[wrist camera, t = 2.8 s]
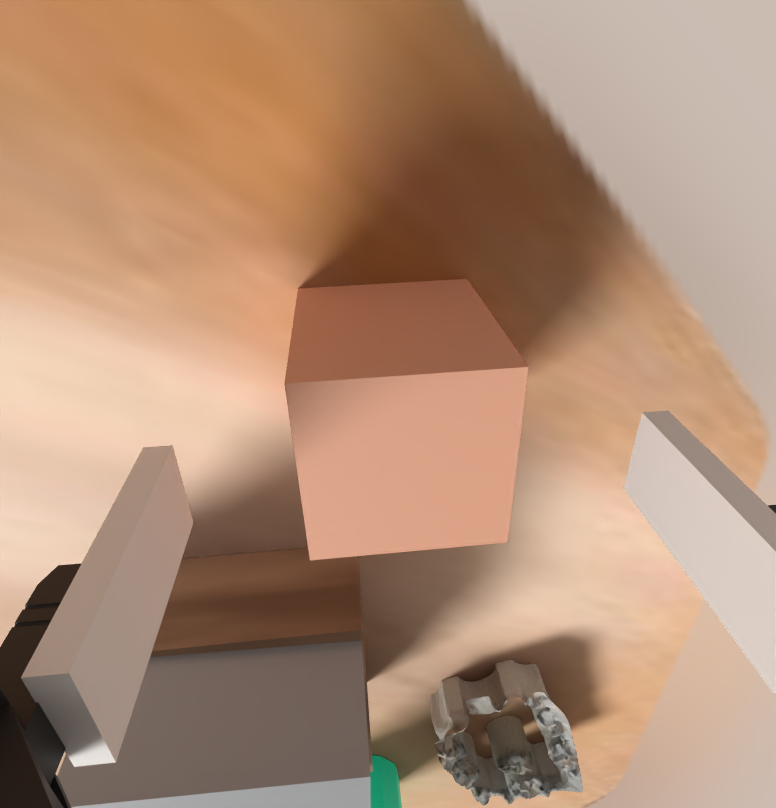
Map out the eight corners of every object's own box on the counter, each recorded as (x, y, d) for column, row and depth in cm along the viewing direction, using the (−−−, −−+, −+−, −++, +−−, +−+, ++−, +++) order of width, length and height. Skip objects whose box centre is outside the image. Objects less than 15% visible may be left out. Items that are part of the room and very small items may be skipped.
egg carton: (418, 677, 32) (429, 751, 28) (542, 643, 31) (569, 714, 28) (459, 762, 37) (473, 833, 34) (566, 735, 37) (591, 804, 33)
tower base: (117, 559, 25) (74, 658, 21) (356, 538, 26) (362, 629, 21) (171, 698, 31) (146, 798, 26) (366, 677, 31) (373, 771, 27)
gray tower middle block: (102, 660, 21) (44, 809, 17) (361, 640, 22) (370, 777, 18) (155, 789, 26) (121, 929, 22) (363, 769, 27) (370, 899, 23)
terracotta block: (298, 288, 19) (284, 383, 13) (466, 278, 19) (528, 366, 13) (314, 430, 22) (309, 560, 16) (459, 419, 22) (507, 542, 17)
